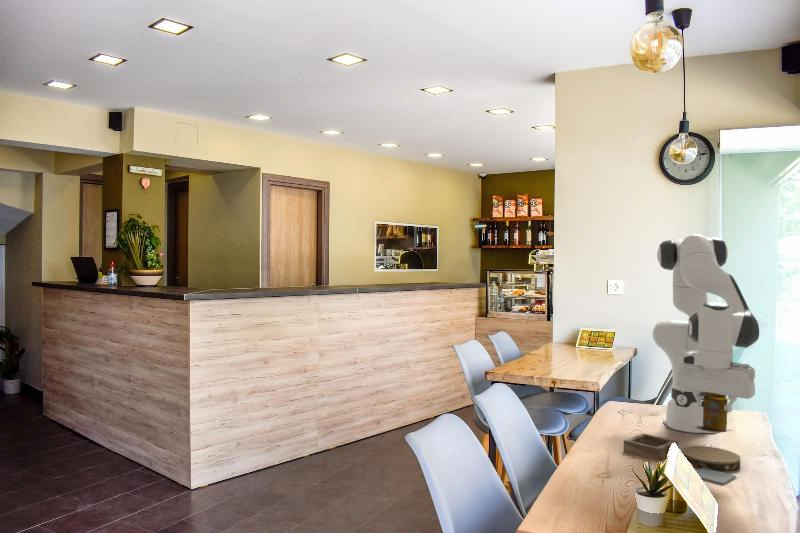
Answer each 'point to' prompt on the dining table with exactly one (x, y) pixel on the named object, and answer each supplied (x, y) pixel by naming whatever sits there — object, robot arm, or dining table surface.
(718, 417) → the condiment
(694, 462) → the round cork trivet
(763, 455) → the dining table surface
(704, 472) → the coaster
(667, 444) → the holder
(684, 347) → the robot arm
